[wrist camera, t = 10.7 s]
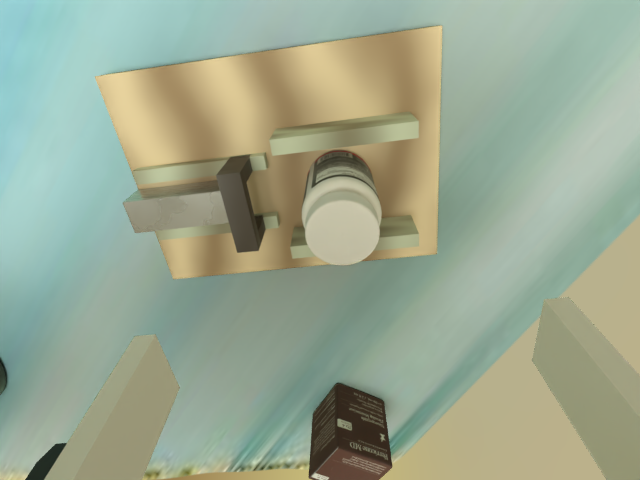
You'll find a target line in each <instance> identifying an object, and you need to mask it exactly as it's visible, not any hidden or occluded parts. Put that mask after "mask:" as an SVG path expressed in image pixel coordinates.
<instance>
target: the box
mask: <svg viewBox="0 0 640 480" xmlns="http://www.w3.org/2000/svg"><path fill="white" fill-rule="evenodd" d="M391 468H392V461H391V452H390V445H389V438H388V429H387V422H386V414H385V406H384V402H383V401H382V400H380V399H378V398H376V397H373V396H371V395H368V394H366V393H364V392H361V391H358V390H356V389H353V388H350V387H347V386H345V385H342V384H338V383H337V384H336V385H335V386H334V387H333V389H332V390H331V391H330V393H329V394H328V395H327V397H326V398H325V399H324V400H323V402H322V403H321V404H320V405H319V407H318V408H317V409H316V410H315V411H314V413H313V420H312V434H311V451H310V468H309V478H310V479H312V480H379V479H380V478H381V477H382V476H384V475H385V474H386V473H387V472H388V471H389V470H390V469H391Z"/></svg>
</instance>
